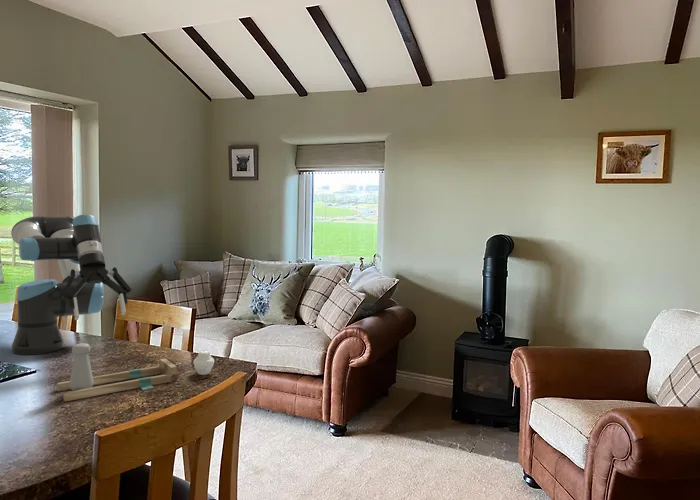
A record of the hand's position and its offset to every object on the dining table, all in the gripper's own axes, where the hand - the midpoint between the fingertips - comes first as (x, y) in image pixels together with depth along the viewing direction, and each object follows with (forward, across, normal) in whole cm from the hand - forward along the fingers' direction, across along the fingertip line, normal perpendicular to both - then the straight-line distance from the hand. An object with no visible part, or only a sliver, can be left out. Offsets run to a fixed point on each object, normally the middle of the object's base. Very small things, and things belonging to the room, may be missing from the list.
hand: (101, 315), depth 162 cm
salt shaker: (+26, -10, -10) cm, 30 cm away
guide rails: (+26, -1, -10) cm, 28 cm away
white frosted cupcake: (+28, +23, -12) cm, 38 cm away
